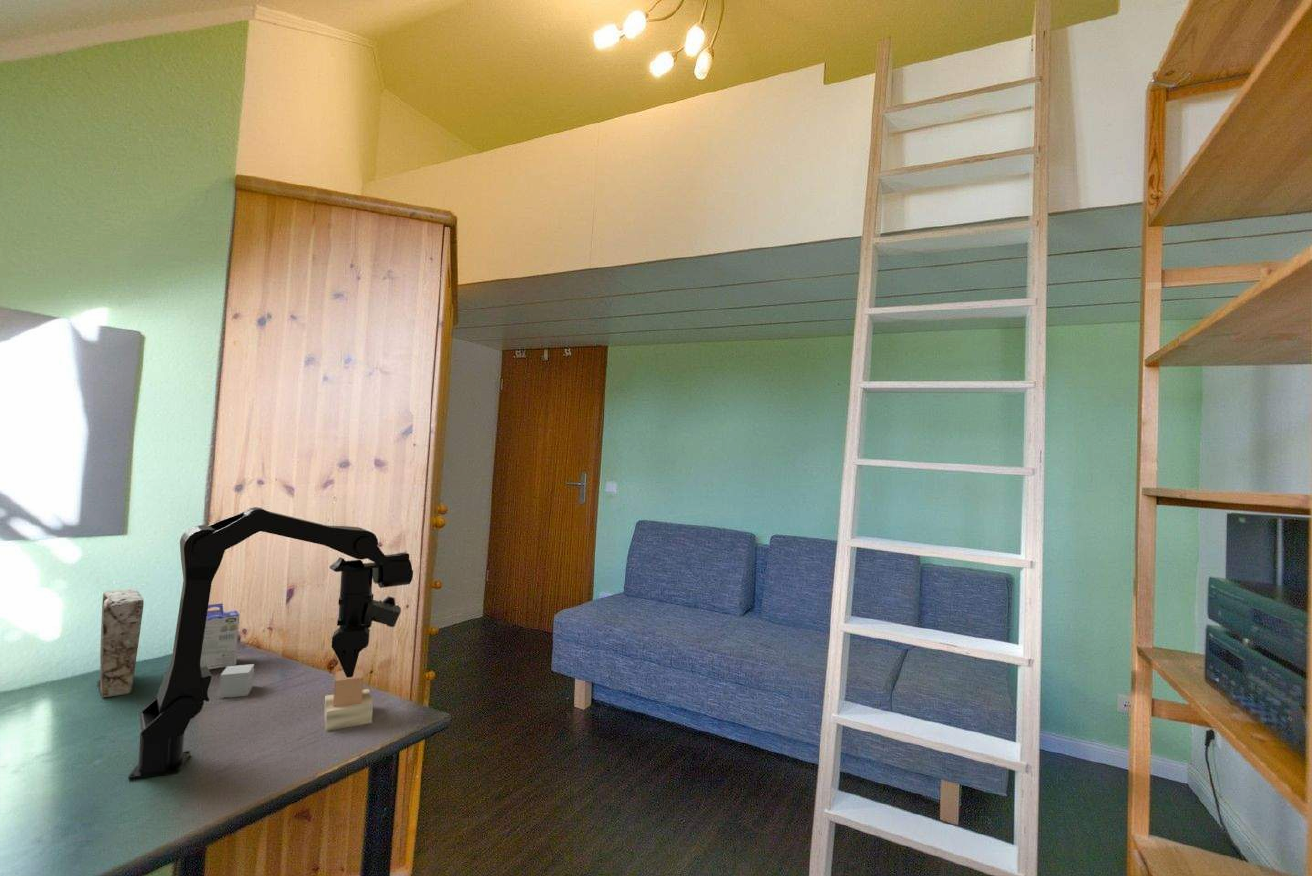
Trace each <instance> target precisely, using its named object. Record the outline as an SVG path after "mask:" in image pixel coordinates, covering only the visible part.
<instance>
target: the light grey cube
mask: <svg viewBox="0 0 1312 876" xmlns="http://www.w3.org/2000/svg"><path fill="white" fill-rule="evenodd" d="M254 673H255V664H254V663H252V664H239V665H233V666H227V667H224V670H223V671H222V672H221V674H220V676H219V677H220V678H219V679H220V681H219V691H218V692H219V693H218V699H227V698H226V697H228V698H235V697H246V696H249V693H250V692H251V690H252V689H253V686H254ZM251 688H252V689H251ZM224 697H225V698H224Z"/></svg>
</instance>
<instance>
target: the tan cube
mask: <svg viewBox="0 0 1312 876" xmlns="http://www.w3.org/2000/svg"><path fill="white" fill-rule="evenodd" d="M364 669H365V668H358V669H356V668H355V670H354V674H353V677H348V678H347V677H346V675H345V673H344V670H339V671H336V673H335V676H334V677H335V678H334V682H333V683H334V684H333V694H334V700H333V707H335V706H342V705H350V704H357V703H362V693H363V690H364V689H363V687H364Z"/></svg>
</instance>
